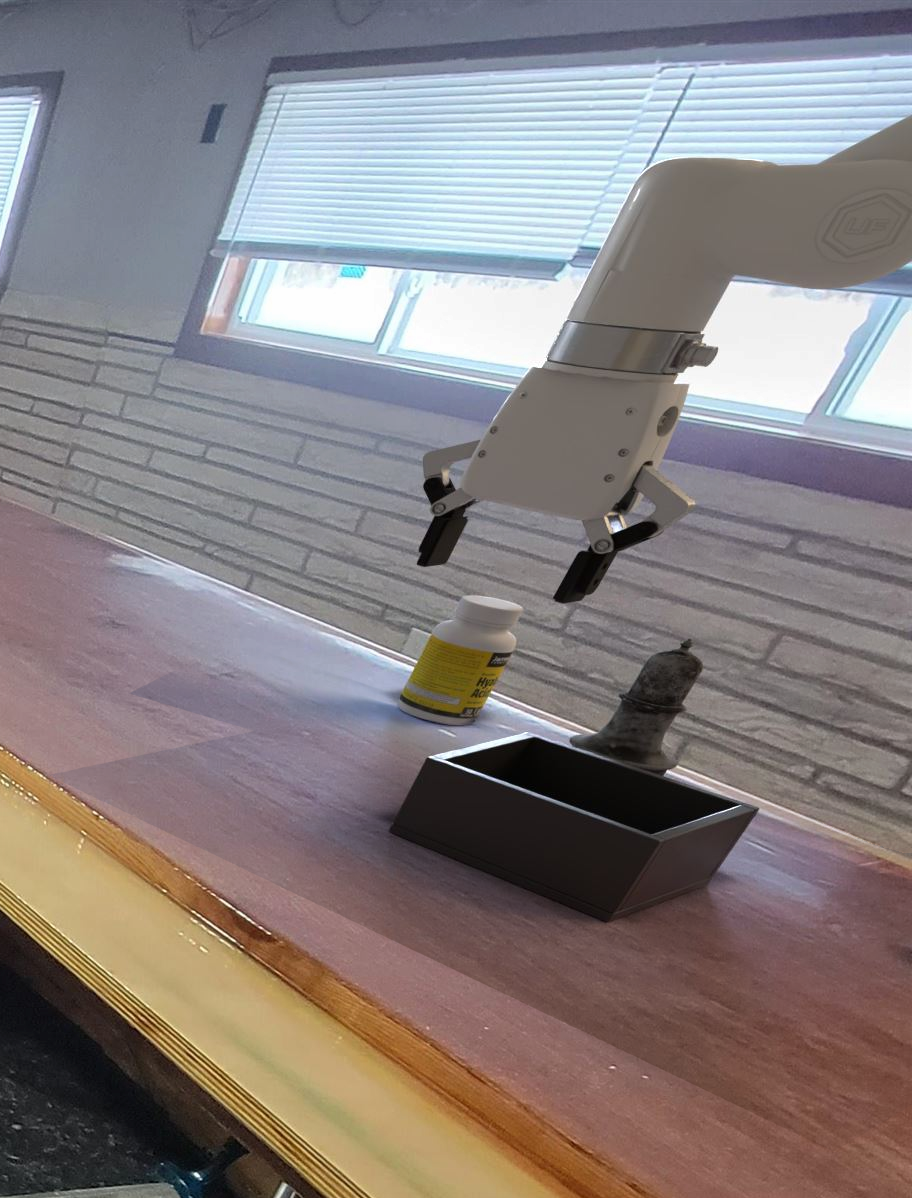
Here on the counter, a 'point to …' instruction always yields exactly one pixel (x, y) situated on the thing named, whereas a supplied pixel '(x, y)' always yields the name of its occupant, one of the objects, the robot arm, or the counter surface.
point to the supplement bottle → (462, 662)
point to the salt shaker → (647, 712)
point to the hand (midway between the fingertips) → (496, 582)
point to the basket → (571, 823)
